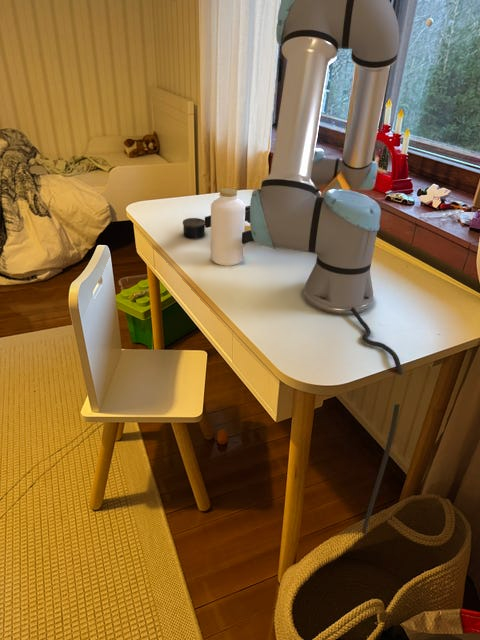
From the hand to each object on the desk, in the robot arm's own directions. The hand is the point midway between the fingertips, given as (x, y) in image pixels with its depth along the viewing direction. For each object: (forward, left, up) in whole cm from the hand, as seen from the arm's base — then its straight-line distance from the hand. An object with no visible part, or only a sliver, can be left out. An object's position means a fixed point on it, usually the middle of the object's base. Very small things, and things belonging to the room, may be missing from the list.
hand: (223, 230), depth 117 cm
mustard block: (+18, -10, -9) cm, 22 cm away
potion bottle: (+1, -1, -9) cm, 9 cm away
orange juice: (+10, -30, -1) cm, 31 cm away
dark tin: (+18, +7, -9) cm, 21 cm away
